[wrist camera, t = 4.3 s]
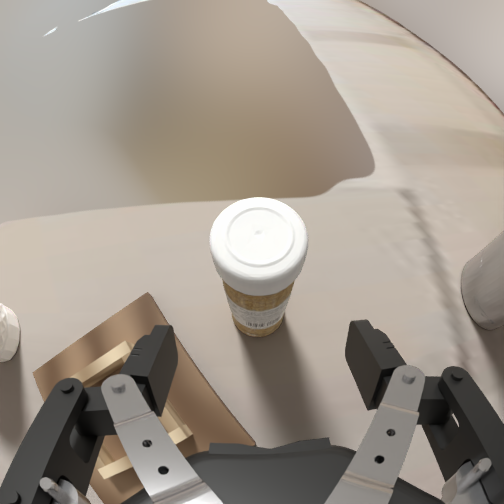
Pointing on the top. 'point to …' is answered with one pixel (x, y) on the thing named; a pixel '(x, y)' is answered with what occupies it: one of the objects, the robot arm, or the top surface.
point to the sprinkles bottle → (258, 260)
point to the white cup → (8, 333)
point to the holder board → (176, 407)
